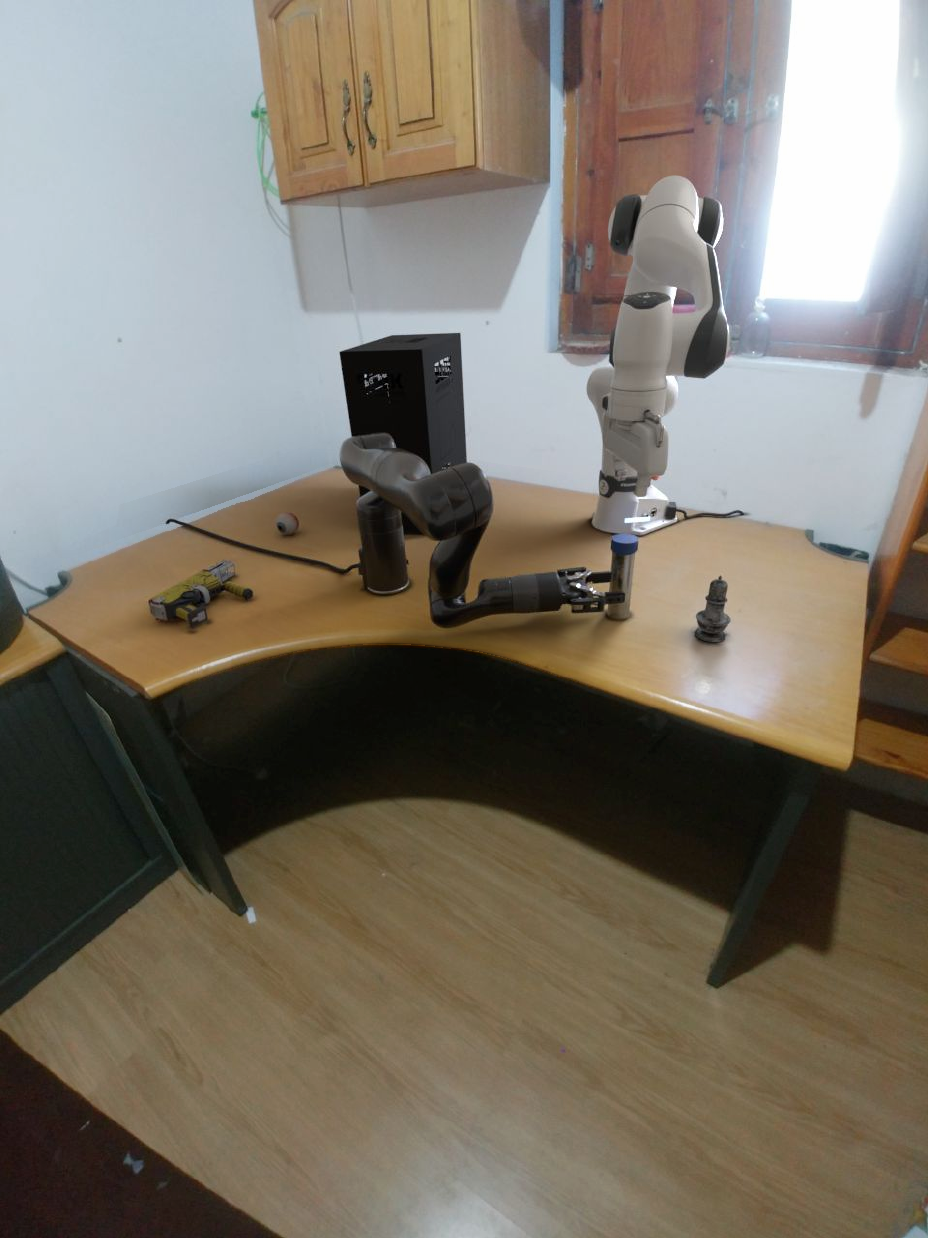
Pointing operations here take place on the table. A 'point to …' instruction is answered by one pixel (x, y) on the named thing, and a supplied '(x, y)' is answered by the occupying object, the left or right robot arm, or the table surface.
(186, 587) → the toy gun
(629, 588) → the jar
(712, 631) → the grey stone tiered figure
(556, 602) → the left robot arm
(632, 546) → the lid
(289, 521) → the eyeball
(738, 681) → the table surface
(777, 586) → the table surface
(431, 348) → the cardboard box
